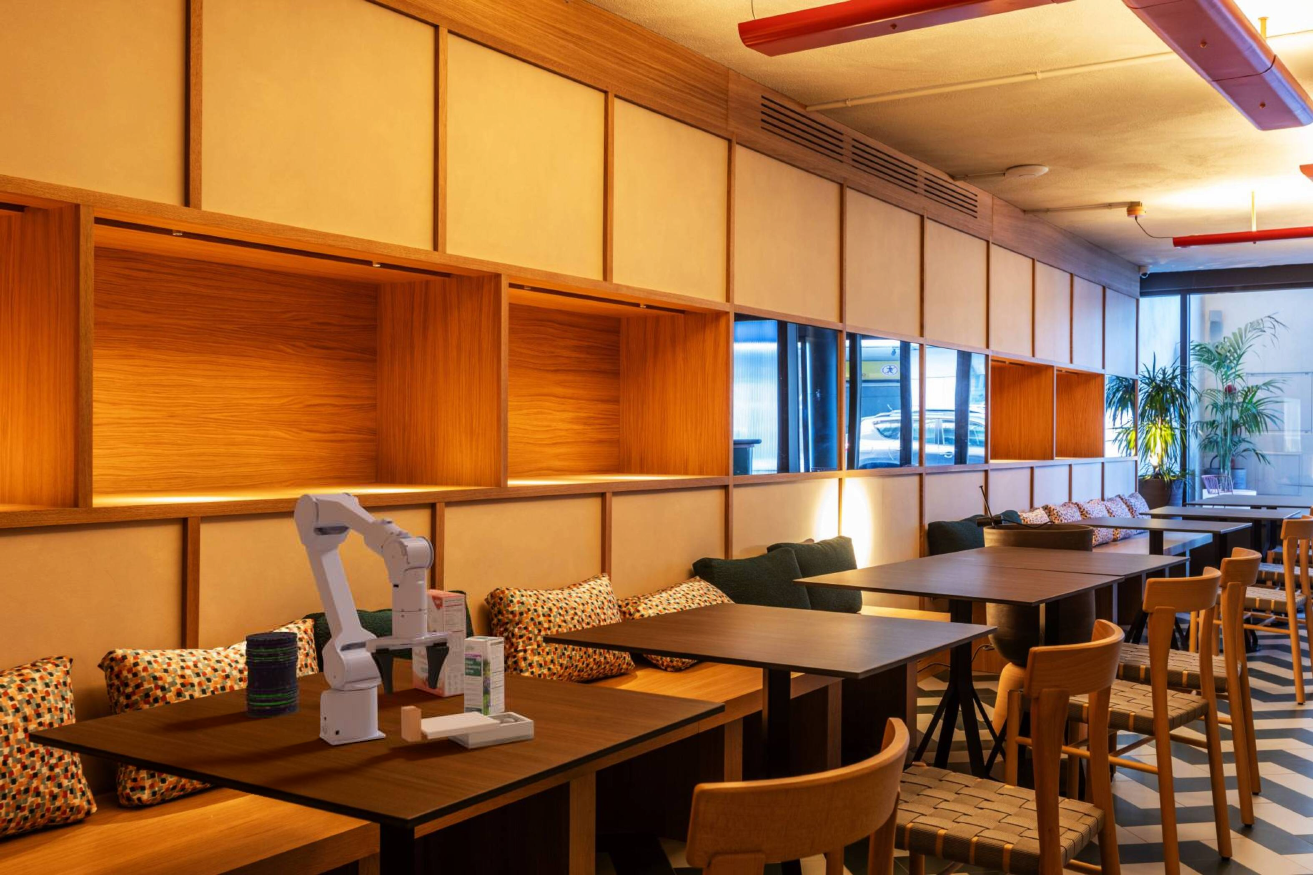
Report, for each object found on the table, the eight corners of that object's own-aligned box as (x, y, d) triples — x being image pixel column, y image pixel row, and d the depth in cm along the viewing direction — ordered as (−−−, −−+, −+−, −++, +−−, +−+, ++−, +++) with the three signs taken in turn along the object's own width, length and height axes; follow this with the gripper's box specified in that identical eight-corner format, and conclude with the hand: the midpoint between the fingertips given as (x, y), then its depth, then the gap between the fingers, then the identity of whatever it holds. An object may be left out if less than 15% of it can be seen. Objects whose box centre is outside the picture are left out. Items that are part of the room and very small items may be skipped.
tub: (469, 748, 191) (468, 730, 191) (448, 738, 199) (448, 720, 199) (533, 738, 197) (533, 720, 198) (511, 728, 205) (511, 711, 205)
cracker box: (410, 688, 244) (409, 590, 245) (436, 684, 248) (435, 588, 248) (442, 698, 233) (440, 595, 234) (468, 694, 237) (466, 593, 237)
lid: (416, 745, 186) (416, 714, 186) (395, 733, 194) (394, 703, 194) (500, 732, 193) (499, 703, 194) (476, 721, 202) (475, 693, 202)
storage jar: (235, 716, 220) (234, 638, 220) (264, 705, 229) (263, 631, 230) (281, 718, 217) (280, 639, 218) (308, 707, 227) (307, 631, 227)
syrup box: (463, 715, 217) (461, 638, 217) (481, 709, 222) (480, 634, 222) (487, 718, 214) (486, 640, 214) (505, 711, 219) (504, 636, 220)
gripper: (374, 615, 184) (376, 700, 183) (459, 608, 191) (460, 689, 191) (361, 611, 190) (362, 693, 189) (443, 604, 197) (445, 683, 197)
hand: (410, 691), depth 191 cm, fingers open, 7 cm apart
